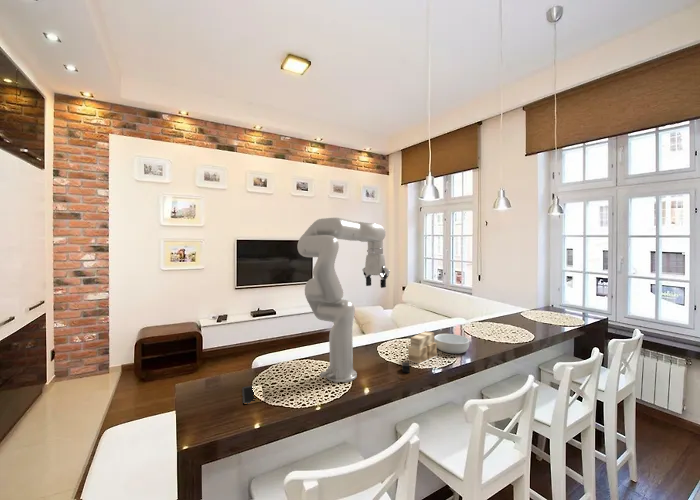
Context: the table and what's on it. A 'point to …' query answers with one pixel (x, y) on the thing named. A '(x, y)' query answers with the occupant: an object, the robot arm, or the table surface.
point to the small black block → (405, 367)
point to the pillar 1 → (417, 354)
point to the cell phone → (247, 394)
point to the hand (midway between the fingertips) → (375, 286)
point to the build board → (424, 361)
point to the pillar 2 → (432, 350)
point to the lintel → (422, 340)
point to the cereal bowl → (451, 343)
